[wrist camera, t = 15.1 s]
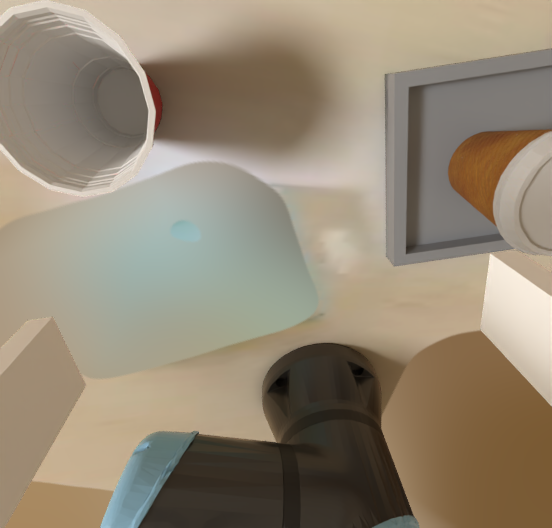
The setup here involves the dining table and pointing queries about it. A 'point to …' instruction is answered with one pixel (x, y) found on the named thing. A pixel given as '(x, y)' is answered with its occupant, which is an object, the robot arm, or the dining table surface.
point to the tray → (452, 148)
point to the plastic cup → (72, 100)
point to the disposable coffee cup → (509, 184)
